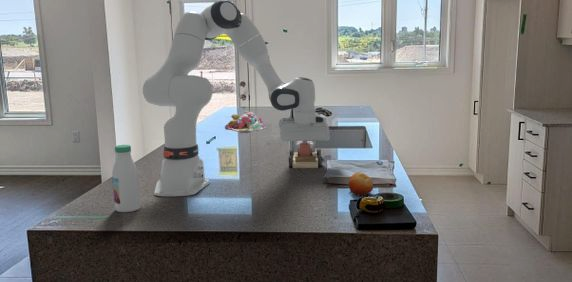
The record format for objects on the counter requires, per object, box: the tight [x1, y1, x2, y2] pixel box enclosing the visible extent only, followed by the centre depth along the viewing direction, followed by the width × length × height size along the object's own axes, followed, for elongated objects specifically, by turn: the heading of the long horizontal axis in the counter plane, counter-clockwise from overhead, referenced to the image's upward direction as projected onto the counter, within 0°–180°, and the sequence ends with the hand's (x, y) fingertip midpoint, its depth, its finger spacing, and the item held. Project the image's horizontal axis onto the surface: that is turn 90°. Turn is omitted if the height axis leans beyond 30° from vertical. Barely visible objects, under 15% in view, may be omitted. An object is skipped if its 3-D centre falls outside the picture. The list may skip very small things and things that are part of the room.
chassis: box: [288, 141, 323, 169], centre depth 212 cm, size 20×13×7 cm, turn 178°
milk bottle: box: [111, 144, 142, 213], centre depth 157 cm, size 8×8×20 cm
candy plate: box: [224, 110, 266, 133], centre depth 298 cm, size 25×24×9 cm
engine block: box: [300, 141, 310, 156], centre depth 209 cm, size 5×4×6 cm
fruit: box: [348, 172, 374, 197], centre depth 168 cm, size 8×8×8 cm
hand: (304, 151), depth 209 cm, fingers closed on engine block, 4 cm apart
